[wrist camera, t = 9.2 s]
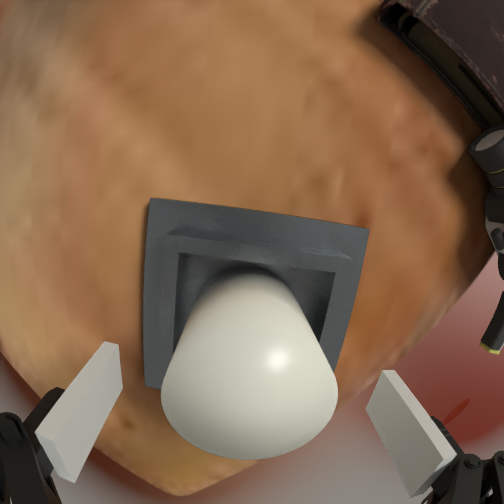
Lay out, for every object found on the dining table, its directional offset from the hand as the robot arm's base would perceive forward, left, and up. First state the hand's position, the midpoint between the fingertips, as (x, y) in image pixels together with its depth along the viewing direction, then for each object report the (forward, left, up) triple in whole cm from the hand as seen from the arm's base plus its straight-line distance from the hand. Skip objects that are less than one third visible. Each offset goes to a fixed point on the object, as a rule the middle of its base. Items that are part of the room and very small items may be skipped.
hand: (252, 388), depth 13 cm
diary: (-34, +21, -10) cm, 41 cm away
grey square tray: (0, 0, -10) cm, 10 cm away
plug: (0, 0, -9) cm, 9 cm away
